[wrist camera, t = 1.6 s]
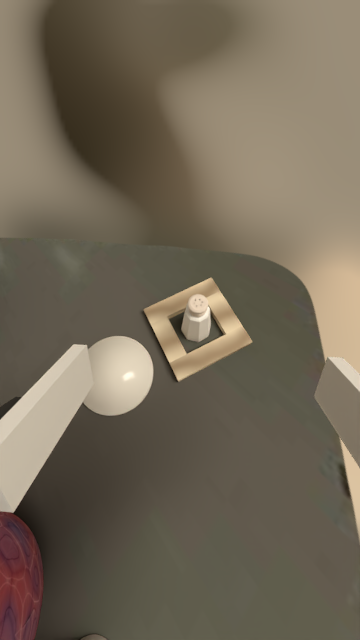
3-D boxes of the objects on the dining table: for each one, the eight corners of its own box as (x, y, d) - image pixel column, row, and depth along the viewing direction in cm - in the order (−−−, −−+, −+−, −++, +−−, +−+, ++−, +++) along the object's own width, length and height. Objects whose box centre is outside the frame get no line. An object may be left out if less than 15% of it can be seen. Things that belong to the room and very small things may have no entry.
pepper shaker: (207, 312, 41) (213, 282, 31) (213, 340, 39) (222, 318, 29) (178, 316, 41) (175, 288, 31) (183, 344, 39) (181, 324, 29)
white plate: (68, 357, 39) (66, 356, 39) (136, 325, 41) (135, 323, 40) (92, 430, 35) (90, 431, 34) (166, 391, 37) (165, 391, 36)
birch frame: (145, 312, 42) (143, 309, 40) (210, 281, 43) (211, 277, 42) (178, 381, 37) (178, 380, 36) (250, 344, 39) (252, 341, 37)
